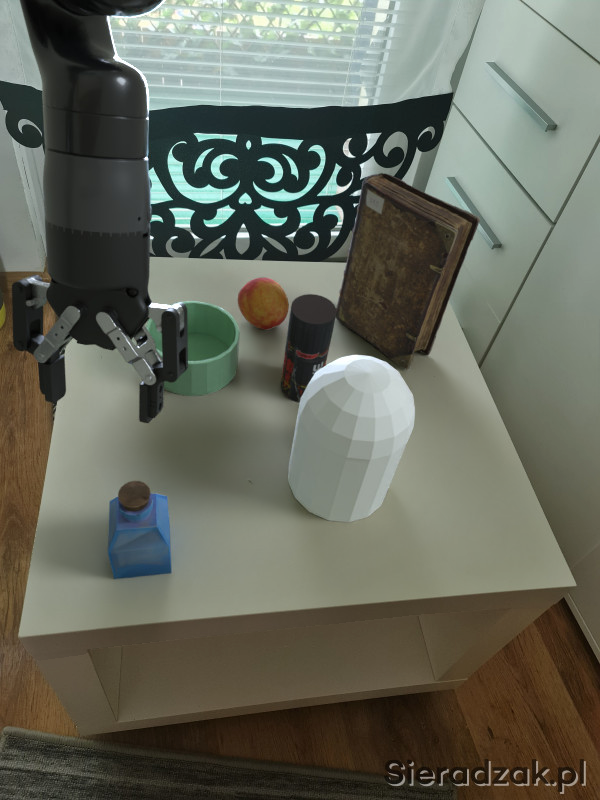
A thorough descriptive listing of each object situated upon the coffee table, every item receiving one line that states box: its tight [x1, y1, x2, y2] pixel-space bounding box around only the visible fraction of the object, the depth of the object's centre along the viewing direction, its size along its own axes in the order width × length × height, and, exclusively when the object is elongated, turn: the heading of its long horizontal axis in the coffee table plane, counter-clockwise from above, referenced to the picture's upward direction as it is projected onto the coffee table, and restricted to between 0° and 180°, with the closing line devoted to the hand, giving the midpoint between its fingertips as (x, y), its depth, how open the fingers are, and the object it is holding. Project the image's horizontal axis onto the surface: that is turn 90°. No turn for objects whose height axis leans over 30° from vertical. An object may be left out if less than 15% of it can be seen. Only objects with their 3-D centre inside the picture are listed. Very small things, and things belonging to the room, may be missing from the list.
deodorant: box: [279, 293, 337, 403], centre depth 85 cm, size 6×6×15 cm
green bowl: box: [145, 300, 241, 397], centre depth 89 cm, size 13×13×6 cm
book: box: [335, 172, 481, 371], centre depth 91 cm, size 17×7×25 cm, turn 42°
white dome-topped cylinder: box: [287, 354, 416, 523], centre depth 73 cm, size 14×13×20 cm
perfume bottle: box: [107, 480, 172, 580], centre depth 66 cm, size 6×6×12 cm
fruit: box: [237, 276, 290, 331], centre depth 96 cm, size 8×8×8 cm
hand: (101, 408), depth 53 cm, fingers open, 8 cm apart
